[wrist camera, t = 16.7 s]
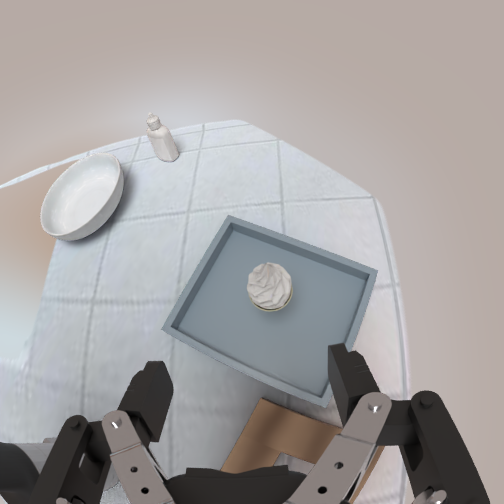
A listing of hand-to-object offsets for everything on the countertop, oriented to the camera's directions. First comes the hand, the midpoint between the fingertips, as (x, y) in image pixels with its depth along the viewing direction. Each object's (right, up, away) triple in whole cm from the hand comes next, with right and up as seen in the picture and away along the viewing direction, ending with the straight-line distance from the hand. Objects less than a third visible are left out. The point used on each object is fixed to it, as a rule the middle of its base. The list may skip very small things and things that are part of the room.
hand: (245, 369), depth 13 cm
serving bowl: (-34, +15, +41) cm, 55 cm away
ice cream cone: (+3, -2, +27) cm, 27 cm away
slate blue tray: (+3, -3, +28) cm, 28 cm away
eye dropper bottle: (-18, +26, +45) cm, 55 cm away
